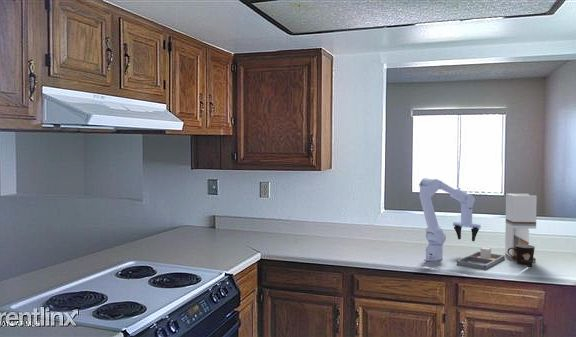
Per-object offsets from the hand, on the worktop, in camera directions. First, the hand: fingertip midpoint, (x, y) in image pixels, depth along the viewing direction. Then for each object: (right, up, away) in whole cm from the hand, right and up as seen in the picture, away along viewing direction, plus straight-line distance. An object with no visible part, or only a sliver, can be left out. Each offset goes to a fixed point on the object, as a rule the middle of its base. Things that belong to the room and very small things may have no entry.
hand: (466, 240), depth 239 cm
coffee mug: (+21, -10, -18) cm, 29 cm away
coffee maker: (+26, -10, -6) cm, 29 cm away
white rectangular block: (+6, -9, -10) cm, 15 cm away
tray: (+2, -10, -14) cm, 18 cm away
